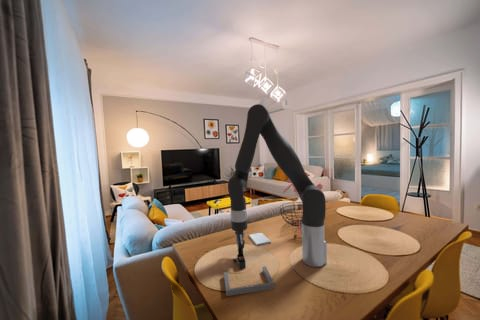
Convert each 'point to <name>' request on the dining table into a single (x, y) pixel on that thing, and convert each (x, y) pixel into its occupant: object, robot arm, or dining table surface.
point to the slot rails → (249, 288)
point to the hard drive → (259, 239)
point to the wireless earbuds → (240, 261)
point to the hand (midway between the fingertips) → (240, 254)
